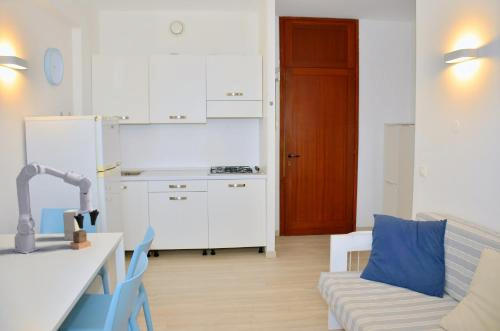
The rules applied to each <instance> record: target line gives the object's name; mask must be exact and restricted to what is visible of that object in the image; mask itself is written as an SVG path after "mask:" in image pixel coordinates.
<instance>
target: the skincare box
mask: <svg viewBox="0 0 500 331" xmlns="http://www.w3.org/2000/svg"><path fill="white" fill-rule="evenodd" d="M78 210H80V209H68V210H67V209H66V210H65V211H63V212H62V217H63V234H64V239H63V240H64V241H73V232H74V231H78V230H82V229H79V226H78V223H77V221H76V219H75V218H74V216H73V212H75V211H78Z"/></svg>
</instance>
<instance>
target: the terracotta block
mask: <svg viewBox="0 0 500 331" xmlns="http://www.w3.org/2000/svg"><path fill="white" fill-rule="evenodd" d="M91 244H92V243H91V240H87V241H86V242H83V243H75V242H73V241H71V242H69V246H70V248H71V247H72V248H71V249H76V250H82V249H85V248H86V249H87V248H89V247H92V245H91Z"/></svg>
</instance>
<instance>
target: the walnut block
mask: <svg viewBox="0 0 500 331" xmlns="http://www.w3.org/2000/svg"><path fill="white" fill-rule="evenodd" d="M87 236H88V233H87V230H83V229H81V230H78V231H74V232H73V240H72V242H75V243H83V242H86V241H87V238H88V237H87Z"/></svg>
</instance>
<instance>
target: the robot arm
mask: <svg viewBox="0 0 500 331" xmlns="http://www.w3.org/2000/svg"><path fill="white" fill-rule="evenodd" d="M38 174H39V176H40V175H45V174H46V175H50V176H53V177H56V178H60V179H62V180H63V182H64V183H67V184H69V185H72V186H75V187H79V206H80V207H79V208H80V210H78V211H75V212H73V216H74V218H75V219H76V221H77V223H78V226H79V229H81V230H83V229H84V219H85V215H84V214H88V215H89V219H90V226H96V222H97V219H98V216H99V214H100V207H99V206H93V196H92V195H93V194H92V187H91V186H92V180H91V178H89V177H87V176H84V175H82V174H81V175H80V174H78V173H75V172H74V171H66V172H65V171H64V172H63V171H61V170H59V169H57V168H53V167H51V166H49V165H46V164H43V163H38V162H36V161H33V162H30V163H28V164H26V165H25V166H23V167H22V168H21V170H20V172H19V173H18V175H17V176H16V179H15V183H16V186H15V187H16V195H17V203H18V204H17V205H18V220H17V221H18V224H17V225H16V226H17V227H16V230H17V233H16V234H15V235H14V239H13V240H14V249H13V251H14V252H16V253H21V254H28V253H30V252H31V253H32V252H35V251H38V250H40V248H39V247H36V235H35V234H36V232H35V230H34V227H35V225H36V223H35V220H34V219H33V214H32V213H31V205H30V204H31V203H30V202H31V201H30V192H29V181H30V180H31V179H32V178H34V177H35V176H37V175H38Z"/></svg>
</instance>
